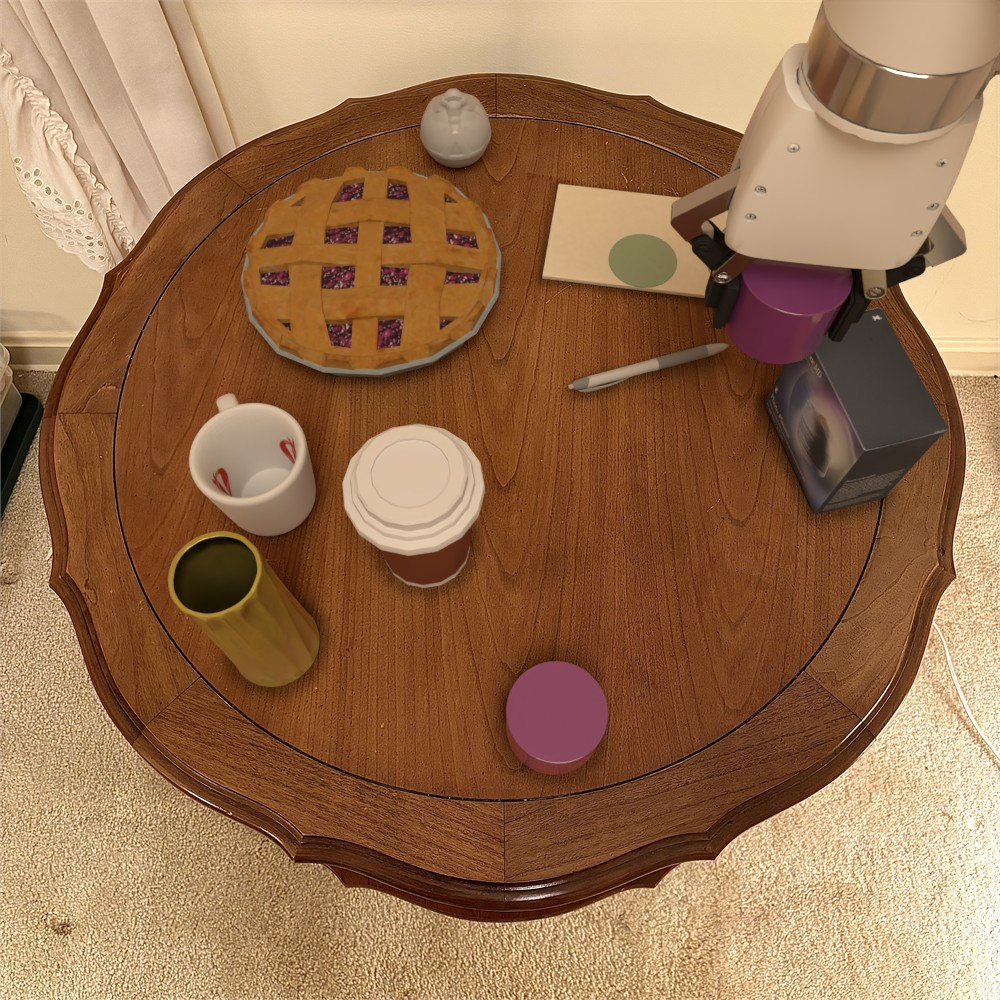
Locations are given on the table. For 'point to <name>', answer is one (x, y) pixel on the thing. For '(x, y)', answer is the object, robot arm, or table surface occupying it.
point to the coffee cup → (416, 500)
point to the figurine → (455, 129)
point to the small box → (853, 416)
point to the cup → (254, 466)
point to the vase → (244, 608)
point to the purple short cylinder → (555, 717)
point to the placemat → (622, 242)
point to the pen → (645, 367)
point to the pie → (371, 272)
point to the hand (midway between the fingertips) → (776, 315)
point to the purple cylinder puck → (786, 308)
